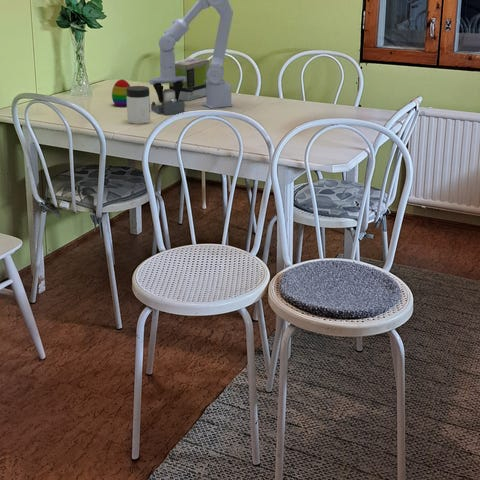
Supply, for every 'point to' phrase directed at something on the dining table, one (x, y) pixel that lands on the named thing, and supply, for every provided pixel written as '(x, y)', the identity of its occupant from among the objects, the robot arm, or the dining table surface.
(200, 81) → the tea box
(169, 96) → the pump
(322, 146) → the dining table surface
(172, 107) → the motor cradle
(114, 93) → the decorative egg
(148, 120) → the jar
